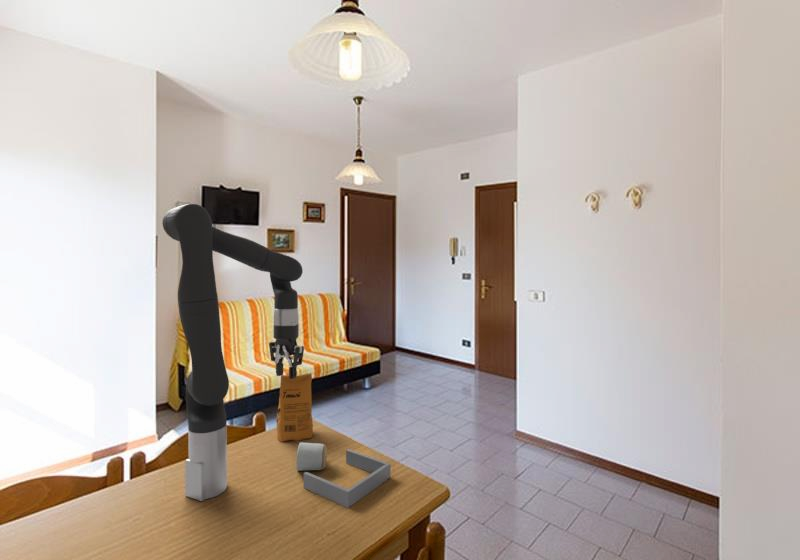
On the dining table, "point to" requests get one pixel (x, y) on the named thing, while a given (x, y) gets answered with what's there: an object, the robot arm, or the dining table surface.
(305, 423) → the coffee package
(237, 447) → the dining table surface
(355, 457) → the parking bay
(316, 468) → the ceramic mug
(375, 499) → the dining table surface
